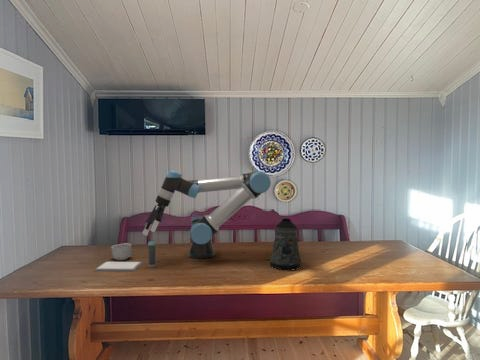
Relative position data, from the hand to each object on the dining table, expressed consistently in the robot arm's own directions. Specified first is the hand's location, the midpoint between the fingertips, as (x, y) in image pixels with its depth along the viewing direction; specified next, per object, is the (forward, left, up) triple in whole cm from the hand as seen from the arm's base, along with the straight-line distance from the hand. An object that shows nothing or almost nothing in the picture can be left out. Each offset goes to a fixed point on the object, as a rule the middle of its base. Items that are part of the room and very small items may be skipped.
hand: (148, 233), depth 191 cm
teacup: (+17, -8, -16) cm, 25 cm away
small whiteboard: (+13, +9, -16) cm, 23 cm away
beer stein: (-74, +4, -16) cm, 76 cm away
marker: (-4, +8, -16) cm, 18 cm away
